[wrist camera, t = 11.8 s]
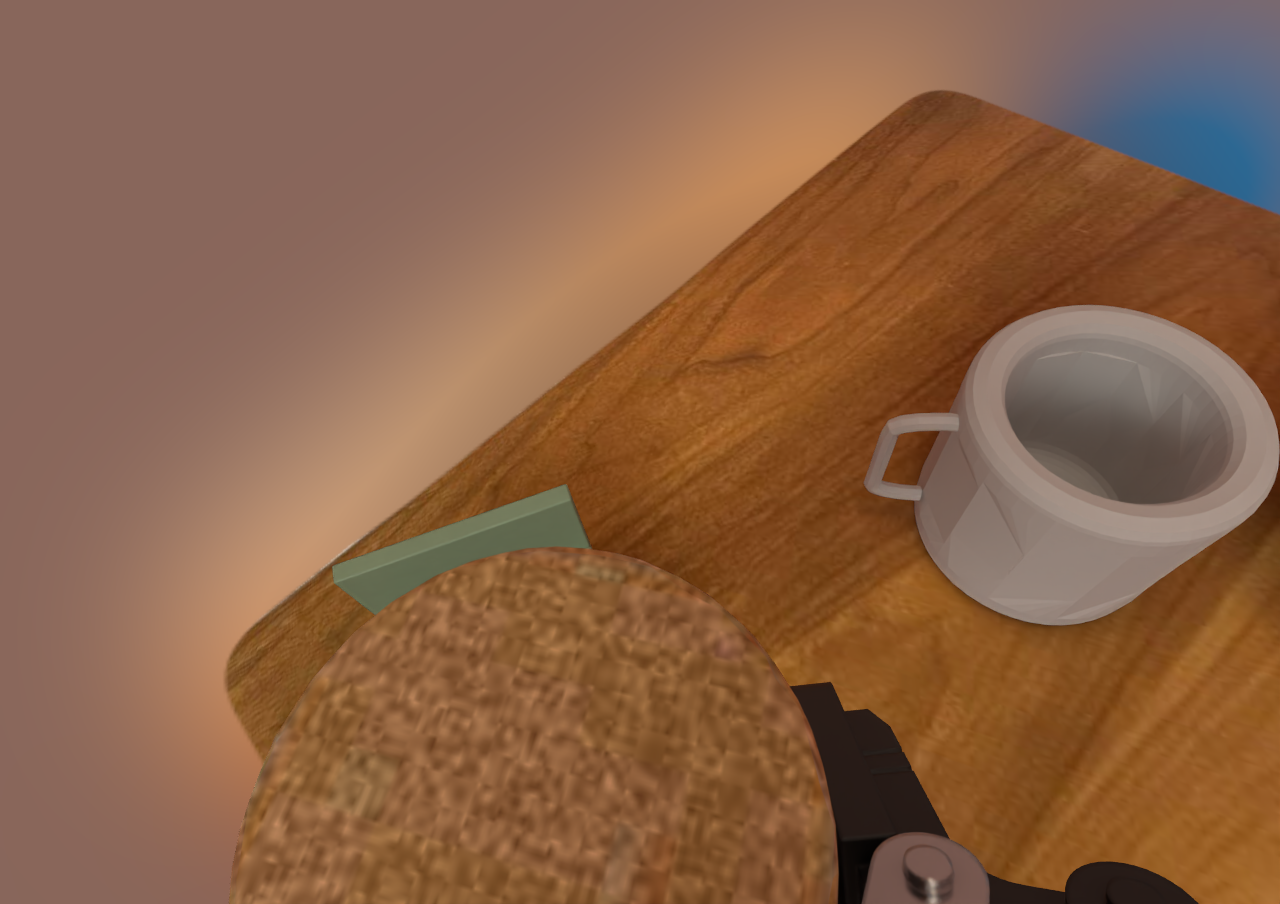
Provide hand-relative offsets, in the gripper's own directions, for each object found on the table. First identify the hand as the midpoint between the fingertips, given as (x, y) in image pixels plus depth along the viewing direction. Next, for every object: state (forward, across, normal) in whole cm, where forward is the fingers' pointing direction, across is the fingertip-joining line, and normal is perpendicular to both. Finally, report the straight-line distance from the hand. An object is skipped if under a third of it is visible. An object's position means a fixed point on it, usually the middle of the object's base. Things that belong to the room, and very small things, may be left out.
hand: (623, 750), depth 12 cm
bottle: (+4, 0, +7) cm, 8 cm away
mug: (+23, -17, +6) cm, 29 cm away
